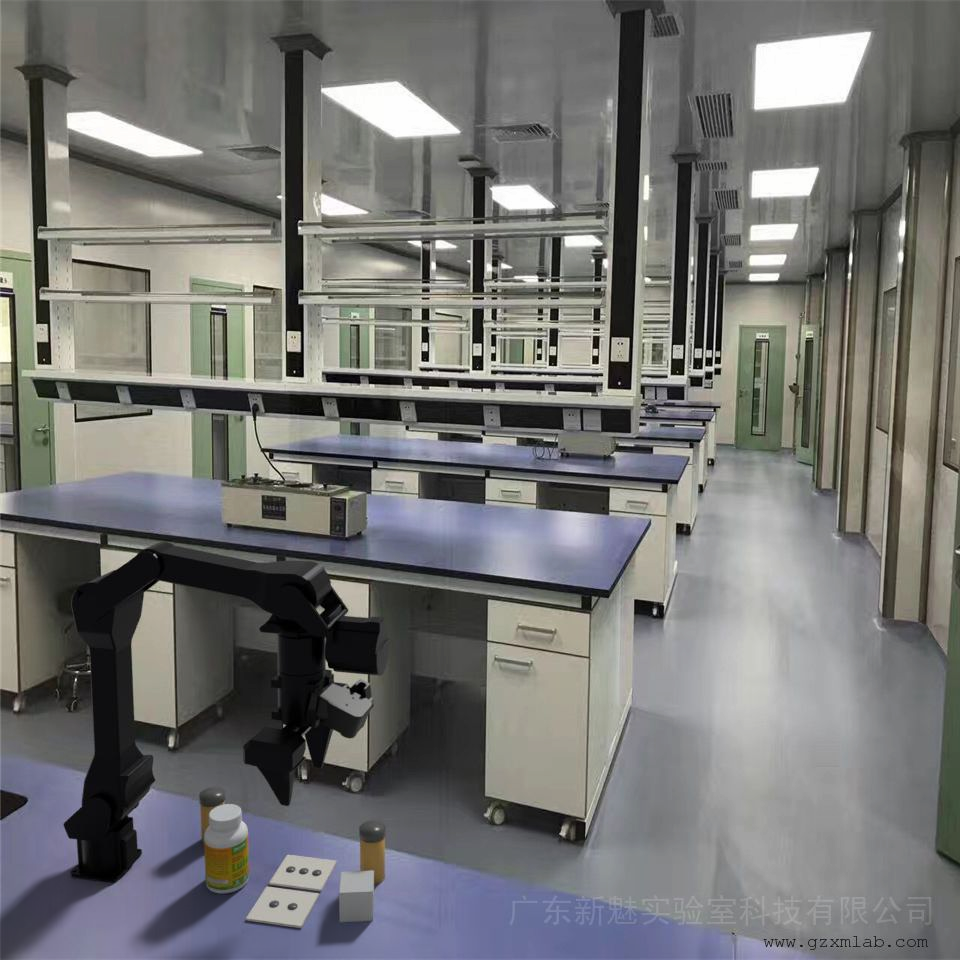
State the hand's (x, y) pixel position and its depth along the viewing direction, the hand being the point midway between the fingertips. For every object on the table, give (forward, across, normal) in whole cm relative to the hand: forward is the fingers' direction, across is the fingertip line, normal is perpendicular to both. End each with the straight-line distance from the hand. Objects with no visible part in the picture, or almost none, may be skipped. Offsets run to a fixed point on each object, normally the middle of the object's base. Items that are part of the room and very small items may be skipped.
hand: (302, 785), depth 104 cm
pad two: (+14, -4, +1) cm, 15 cm away
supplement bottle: (+15, -1, +10) cm, 18 cm away
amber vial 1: (+14, +6, +17) cm, 23 cm away
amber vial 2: (+14, +5, -8) cm, 17 cm away
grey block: (+14, -2, -8) cm, 17 cm away
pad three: (+14, +3, +1) cm, 15 cm away
